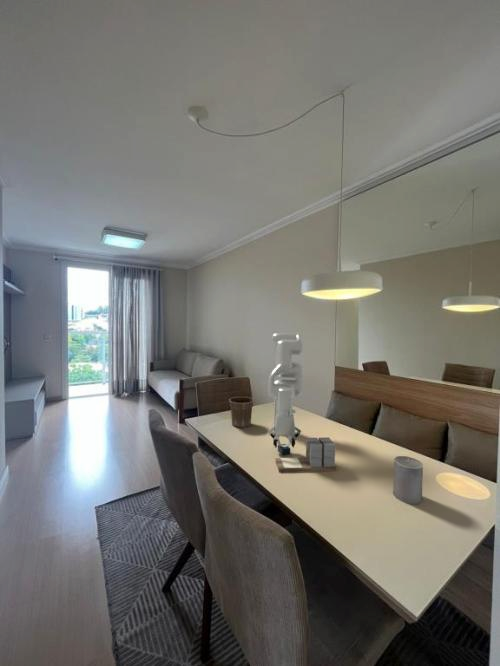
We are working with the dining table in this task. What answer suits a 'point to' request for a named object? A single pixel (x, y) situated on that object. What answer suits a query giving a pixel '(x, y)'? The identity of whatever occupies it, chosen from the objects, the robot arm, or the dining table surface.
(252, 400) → the plant pot
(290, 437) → the watch
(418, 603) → the dining table surface
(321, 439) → the wood and grey tray
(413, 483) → the pillar candle
